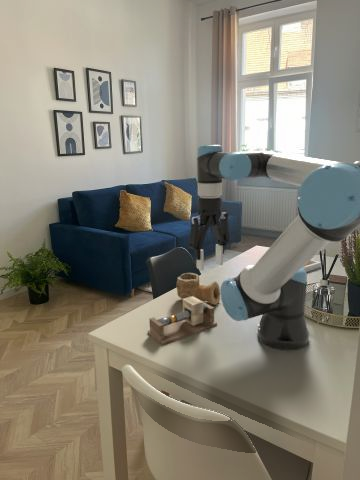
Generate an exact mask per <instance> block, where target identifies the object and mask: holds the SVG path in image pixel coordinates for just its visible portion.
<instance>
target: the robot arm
mask: <svg viewBox="0 0 360 480" xmlns="http://www.w3.org/2000/svg"><path fill="white" fill-rule="evenodd" d="M196 161H197V162H196V163H197V165H196V167H197V173H196V174H197V196H198V198H197V208H198V213H197V216H191V217H190V218H189V220H190V232H189V233H190V234H189V241H188V242H189V245H188V247H189V249H192V250H194V259H195V260H196V268H197V269H199V270H201V271H204V263H205V262H204V258H205V257H204V256H205V255H204V249H202V248H203V245H204V241H205V238H206V234H207V232H208V230H209V229H210V228H209V227H212V230H213V233H214V236H215V238H216V242H217V244H215V264H217V265H219V266H223V261H224V260H223V258H224V254H225V246H227V243H229V242H230V233H229V212H224V211H222V208H223V197H222V195H223V180H229V181H242V180H244V179H252V178H266V179H269V180H274V181H279V182H282V183H286V184H291V185H293V186H294V185H295V186H299V189H298V194H299V195H300V196H299V197H298V198H297V207H296V212H297V216H296V217H295V218H294V220H292V221H291V223H290V224H289V225H288V226H287V227H286V228H285V229H284V231H283V232H282V233H281V234H280V235H279V236H278V237H277V239H276V240H275V241H274V242H273V243H272V244H271V246H270V247H269V248H268V249H267V250H266V251H265V253H264V254H263V255H262V256H261V257H260V258H259V259H258V261H256V263H255V264H253V263H252V264H249V265H247V266H245V267H244V268H243V269H242V270H241V271H240V273H239V274H238V275H237V276H235V277H232V278H228V279H225V280H224V281H222V283H221V286H220V300H221V302H222V305H223V308H224V311H225V312H226V314H227V315H228V316H229V317H230V318H231V319H232V320H233V321H236V322H240V321H242V322H243V321H247V320H249V319H253V318H256V317H259V316H261V318H260V320H259V323H258V325H257V337H258V339H259V340H260V341H261V342H262V343H263V344H265V345H267V346H269V347H271V348H274V349H279V350H297V349H301V348H303V347H304V348H305V346H306V345H308V343H309V339H310V332H309V329H308V326H307V323H306V318H305V307H306V295H307V286H308V277H307V276H308V272H306V271H305V269H303V268H302V267H303V266H304V265H306V264H307V263H308V262H309V261H310V260H313V258H314V257H315V256H316V255H318V253H320V252H321V251H322V250H323V249H324V248H325V247H326V246H327V245H328V244H329V243H339V242H342V241H344V240H345V239H346V238H348V237H349V236H350V235H351V234H352V233H353V232H354V231H356V229H358V228H359V227H360V160H357V161H355V162H341V161H334V160H329V159H321V158H315V157H308V156H301V155H297V154H296V155H294V154H289V153H283V152H282V151H280V150H273V149H270V150H260V151H258V150H257V151H223V146H222V145H220V144H209V145H208V144H206V145H205V144H204V145H199V146H198V148H197V157H196ZM307 265H308V264H307Z"/></svg>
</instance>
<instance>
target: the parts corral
mask: <svg viewBox="0 0 360 480" xmlns="http://www.w3.org/2000/svg"><path fill="white" fill-rule="evenodd" d="M321 267H322V262H321V261H317V260H314V259H311V260H310V261H309V262H308V263H307V266H304V267H302V268H303V269H305V271H306V273H308V272H312V271H314V270H318V269H320V268H321Z"/></svg>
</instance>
